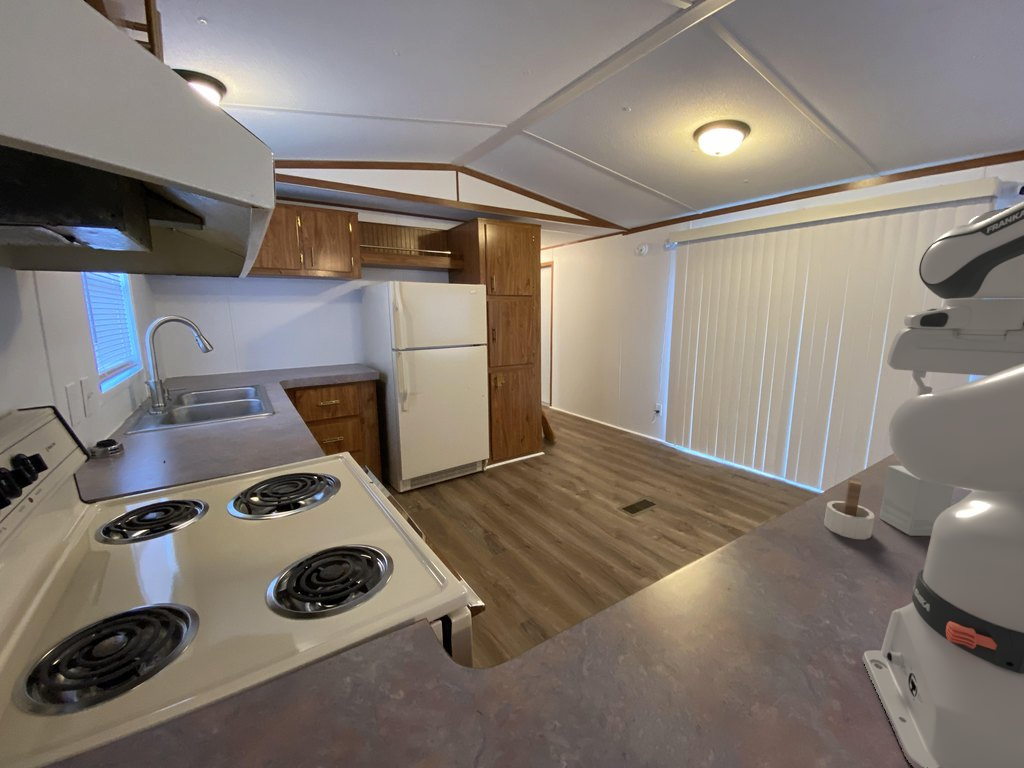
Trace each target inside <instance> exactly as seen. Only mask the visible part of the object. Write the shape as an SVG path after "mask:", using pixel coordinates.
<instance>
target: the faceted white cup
mask: <svg viewBox="0 0 1024 768" xmlns="http://www.w3.org/2000/svg"><path fill="white" fill-rule="evenodd" d="M844 506H845V501H844V500H831V501H828V502H827V504H826V509H825V516H824V520H823V523H824V524H823V525H824V527H826V528H827V529H828V530H829V531H831V532H832V533H834V534H837V535H839V536H841V537H845V538H850V539H852V540H867V539H870V538H871V537H872V532H873V528H874V522H875V514H874V512H872V511H871V510H870V509H868V508H867V507H865V506H862V505H859V504H858V507H857V512H856V517H855V516H850V515H846V514H844V513H843V512H844Z"/></svg>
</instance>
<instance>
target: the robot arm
mask: <svg viewBox="0 0 1024 768" xmlns="http://www.w3.org/2000/svg"><path fill="white" fill-rule="evenodd" d="M918 273H919V277H920V279H921V281H922V283H923V284H924V285H925V286H926V288H928V290H929V291H931V292H932V293H933V294H935V295H936V296H937V297H939V298H941V299H943V300H944V304H943V306H941V307H936V308H930V309H927V310H921V311H918V312H912V313H910V314H907V315H906V316H905V317H904V321H903V322H904V326H907V327H904V328H902V329H900V330H899V331H898V332H897V333H896V334H895V336H894V338H893V340H892V344H891V345H890V348H889V352H888V356H887V364H888V366H889V367H890V368H891V369H893V370H898V371H912V373H911V376H912V378H913V380H914V382H915V383H916V385H917V386H918V387H917V392H916V396H913V397H911V398H909V399H907V400H906V401H904V402H903V403H902V404H901V405H900V406H899V407H897V409H896V410H895V412H894V414H893V416H892V418H891V419H890V421H889V427H888V441H889V446H890V447H891V450H892V453H893V454H894V456H895V458H896V460H897V461H898V462H899V463H900V466H903V467H904V468H905V469H906V470H907V471H909V472H910V473H911V474H913V475H914V476H916V477H918V478H919V479H922V480H924V481H927V482H930V483H934V484H939V485H944V486H949V487H954V488H955V489H961V490H966V491H970V492H969V494H967V495H966V496H965V497H964V498H962V499H961V500H959V502H957V503H955V504H953V505H950V507H949V508H947V509H946V510H944V511H943V512H942V513H941V514H940V515H939V516H938V517H937V519H936V521H935V522H934V525H933V530H932V535H931V536H930V540H929V545H928V548H927V553H926V556H925V557H926V558H925V562H924V566H923V569H921V570H919V572H918V573H917V576H916V579H915V580H914V582H913V586H912V590H913V591H912V596H911V600H912V601H911V602H910V603H908V604H907V605H905V606H903V607H900V608H896V609H895V610H892V612H891V615H890V618H889V622H888V626H887V628H886V632H885V635H884V639H883V641H882V646H881V649H880V650H866V651H864V653H863V654H862V655H863V656H861V657H862V658H861V661H862V660H863V661H862V663H863V662H864V663H863V665H864V664H865V666H864V668H865V667H866V668H865V670H866V669H867V670H866V672H867V671H868V673H867V675H868V674H869V675H868V677H869V676H870V677H869V679H870V681H871V680H872V682H871V683H873V684H874V686H873V688H874V687H875V689H876V691H875V693H876V692H877V693H878V695H879V698H880V699H881V702H882V703H883V706H884V708H885V710H886V712H887V713H888V715H889V717H890V719H891V721H892V723H893V724H894V727H895V729H896V731H897V734H898V736H899V738H900V741H901V743H902V745H903V748H904V750H905V752H906V753H907V755H908V756H909V758H911V759H912V760H913V761H915V762H916V763H917V764H919V765H920V766H921V767H924V768H927V767H928V768H1024V200H1022V201H1021V202H1019V203H1017V204H1015V205H1013V206H1009V207H1004V208H1000V209H994V210H991V211H987V212H983V213H982V214H979V215H977V216H975V217H973V218H971V219H970V220H969V221H968V222H967V223H966V224H963V225H959V226H955V227H953V228H952V229H950V230H948V231H946V232H945V233H944V234H941V236H939V238H937V239H935V240H934V241H933V242H932V243H931V244H930V246H928V247H927V249H926V250H925V252H924V253H923V255H922V257H921V259H920V261H919V268H918ZM928 372H929V373H939V374H940V373H942V374H957V375H971V376H973V375H974V376H984V377H981V378H978V379H975V380H972V381H969V382H966V383H962V384H960V385H956V386H953V387H949V388H946V389H940V390H937V391H933V388H932V387H931V386H928V385H927V386H926V385H925V383H924V382H923V380H922V379H923V378H924V379H925V378H926V375H927V373H928ZM954 488H953V489H954ZM873 684H872V685H873ZM875 689H874V690H875ZM877 693H876V694H877ZM878 695H877V696H878ZM879 698H878V699H879ZM881 702H880V703H881ZM901 720H902V721H904V722H902V721H901Z"/></svg>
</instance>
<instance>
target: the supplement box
mask: <svg viewBox="0 0 1024 768" xmlns="http://www.w3.org/2000/svg"><path fill="white" fill-rule="evenodd" d="M953 493H954V487H949V486H944V485H939V484H934V483H930V482H927V481H924V480H922V479H919V478H918V477H916V476H914V475H913V474H911V473H910V472H909V471H907V470H906V469H905V468H904V467H903V466H902V465H888V466H887V473H886V478H885V484H884V490H883V495H882V500H881V501H882V502H881V506H880V512H879V513H880V514H879V519H880V520H882V521H884V522H886V523H887V524H888V525H890V526H893V527H894V528H895V529H897V530H899V531H900V532H902V533H904V534H906V535H908V536H912V537H913V536H914V537H915V536H916V537H917V536H919V537H920V536H922V537H931V535H932V530H933V525H934V522H935V521H936V519H937V517H938V516H939V515H940V514H941V513H942V512H943V511H944V510H946V509H947V508H949V507H951V502H952V501H951V500H952V496H953Z"/></svg>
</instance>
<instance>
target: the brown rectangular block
mask: <svg viewBox="0 0 1024 768" xmlns="http://www.w3.org/2000/svg"><path fill="white" fill-rule="evenodd" d="M861 490H862V480H861V479H860V478H854V477H849V478H848V483H847V489H846V495H845V501H844V502H845V506H844V512H843V513H844V514H846V515H850V516H855V517H856V512H857V507H858V505H859V502H860V501H859V500H860V494H861Z"/></svg>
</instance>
